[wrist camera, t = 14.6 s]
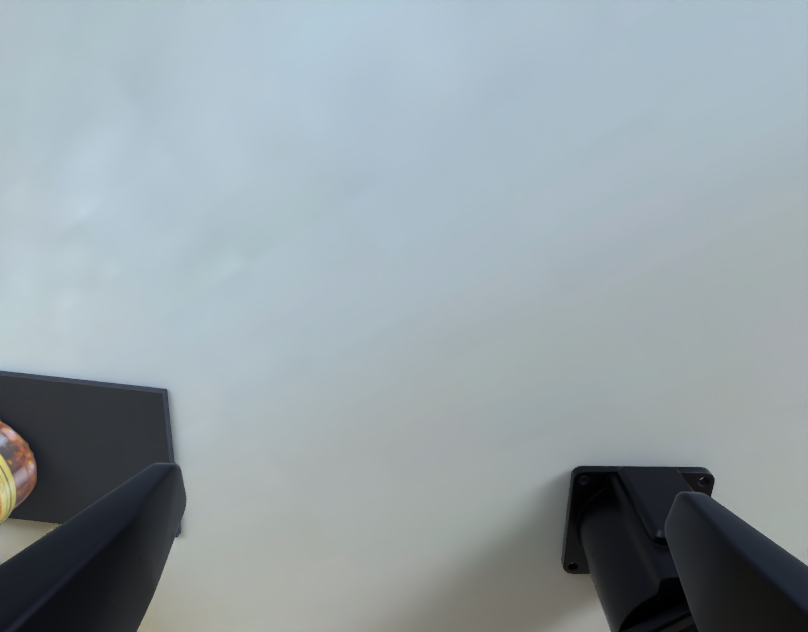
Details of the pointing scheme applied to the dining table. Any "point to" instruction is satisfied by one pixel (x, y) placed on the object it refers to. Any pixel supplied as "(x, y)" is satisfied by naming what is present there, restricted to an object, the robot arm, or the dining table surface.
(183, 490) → the robot arm
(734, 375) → the dining table surface
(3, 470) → the sauce bottle
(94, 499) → the mat
